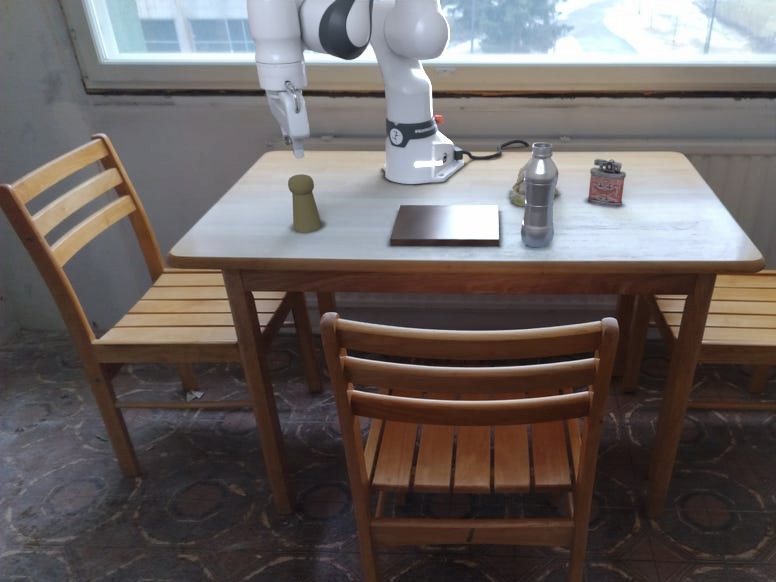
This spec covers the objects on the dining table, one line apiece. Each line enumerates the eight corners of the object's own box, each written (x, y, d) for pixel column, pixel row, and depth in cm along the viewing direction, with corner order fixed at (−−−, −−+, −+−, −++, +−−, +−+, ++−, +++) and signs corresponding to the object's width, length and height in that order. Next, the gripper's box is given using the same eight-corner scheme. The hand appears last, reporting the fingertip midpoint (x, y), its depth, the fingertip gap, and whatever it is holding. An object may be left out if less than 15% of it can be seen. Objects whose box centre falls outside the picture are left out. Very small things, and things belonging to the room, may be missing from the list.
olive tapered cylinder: (315, 233, 137) (307, 182, 131) (288, 230, 138) (279, 180, 132) (326, 222, 142) (319, 172, 135) (300, 219, 143) (292, 170, 136)
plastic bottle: (518, 238, 135) (521, 140, 123) (550, 237, 135) (557, 139, 124) (522, 251, 130) (526, 151, 118) (556, 250, 130) (563, 150, 119)
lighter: (623, 203, 151) (629, 160, 145) (619, 208, 148) (625, 164, 142) (589, 198, 153) (594, 155, 148) (585, 202, 151) (589, 159, 145)
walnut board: (498, 212, 146) (498, 205, 145) (499, 246, 132) (499, 239, 131) (400, 211, 147) (400, 204, 146) (390, 246, 132) (389, 238, 131)
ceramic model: (514, 184, 161) (515, 143, 155) (559, 187, 159) (562, 146, 153) (504, 205, 149) (505, 162, 144) (553, 209, 148) (556, 165, 142)
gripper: (312, 86, 116) (322, 163, 124) (288, 65, 131) (299, 135, 139) (276, 89, 114) (288, 167, 122) (256, 67, 129) (269, 138, 137)
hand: (294, 150), depth 130 cm, fingers open, 8 cm apart
